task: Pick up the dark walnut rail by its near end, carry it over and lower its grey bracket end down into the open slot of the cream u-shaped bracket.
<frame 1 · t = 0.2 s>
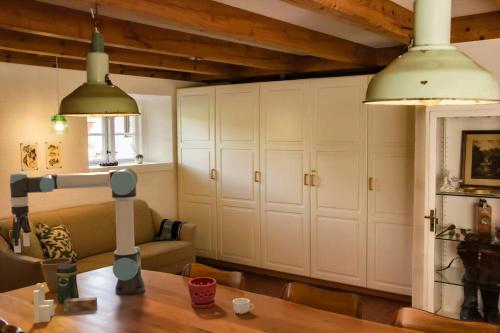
hand: (22, 249, 244), 28 cm above the table, tool pointing down, fingers open, 13 cm apart
coffee jar: (68, 301, 251), on the table
cream u-shaped bracket: (47, 318, 228), on the table
rail: (81, 309, 238), on the table
teacup: (243, 313, 230), on the table
plant pot 2: (203, 305, 240), on the table
plant pot: (57, 290, 269), on the table
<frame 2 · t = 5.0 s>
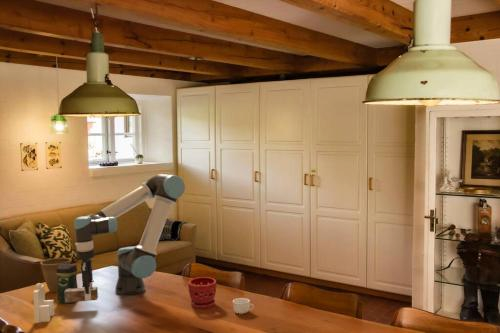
hand: (89, 298, 239), 5 cm above the table, tool pointing down, fingers closed on rail, 4 cm apart
rail: (81, 299, 239), point 5 cm above the table, touching gripper
everything else where it was.
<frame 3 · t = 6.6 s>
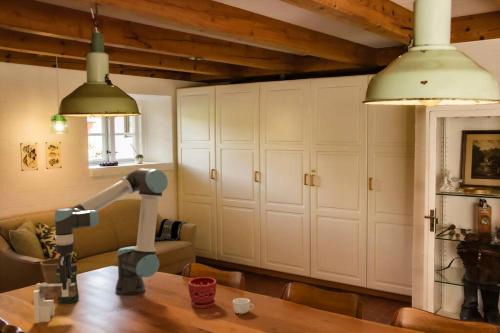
hand: (66, 294, 228), 10 cm above the table, tool pointing down, fingers closed on rail, 4 cm apart
rail: (58, 295, 228), point 10 cm above the table, touching gripper
everything else where it was.
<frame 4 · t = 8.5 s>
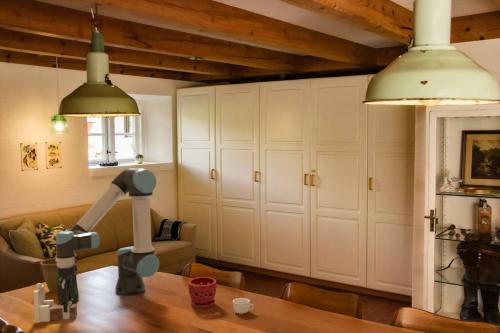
hand: (67, 316, 229), 0 cm above the table, tool pointing down, fingers open, 4 cm apart
rail: (60, 317, 229), on the table, touching gripper
everything else where it was.
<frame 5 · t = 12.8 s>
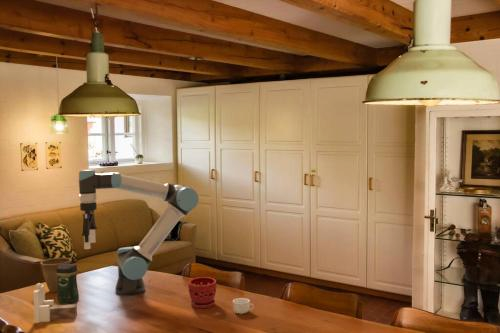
hand: (90, 245, 244), 29 cm above the table, tool pointing down, fingers open, 13 cm apart
rail: (60, 317, 229), on the table
everything else where it was.
at the end: rail 0.8 cm from the target spot on the table beside the cream u-shaped bracket, on the table; the gripper is holding nothing; rail tilted 0° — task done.
